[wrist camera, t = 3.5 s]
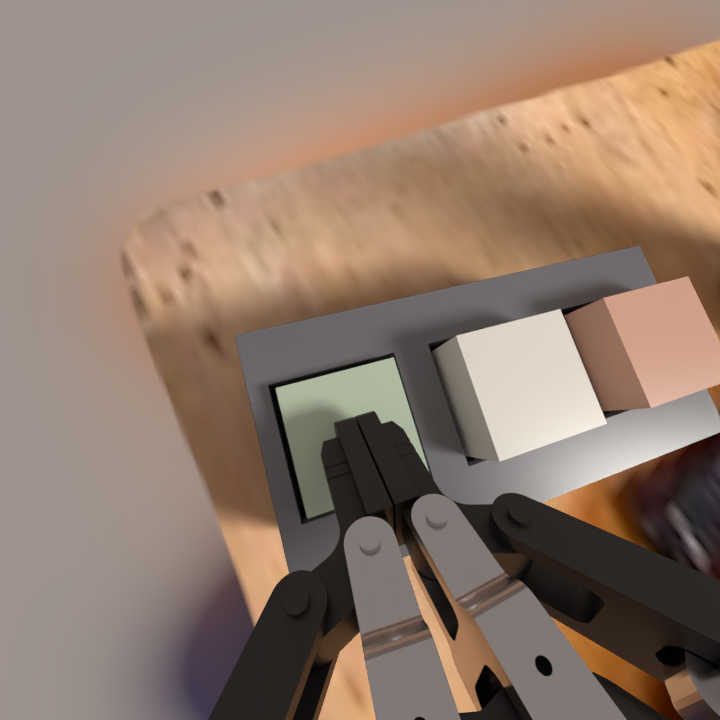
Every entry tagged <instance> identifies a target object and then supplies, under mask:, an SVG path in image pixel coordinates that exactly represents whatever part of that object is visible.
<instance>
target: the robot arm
mask: <svg viewBox="0 0 720 720" xmlns="http://www.w3.org/2000/svg"><path fill="white" fill-rule="evenodd" d="M334 429H335V434H336V438H333V439H330V440H326V441H323V446H322V450H321V459H322V463H323V467H324V471H325V475H326V480H327V484H328V487H329V491H330V495H331V498H332V502H333V506H334V509H335V513H336V517H337V520H338V524H339V528H340V537H339V540H338V543H337V545H336V547H335V549H334V551H333V552H332V553H331V555H330V556H329V557H328V558H327V559H325V560H324V561H323V562H322V563H321V564H319V565H318V566H317V567H316V568H314V569H313V570H312V571H307V570H298V571H295V572H292V573H290V574H288V575H286V576H285V577H284V578H283V579H282V580H281V581H280V582H279V583H278V584H277V585H276V587H275V588H274V590H273V592H272V594H271V596H270V598H269V600H268V602H267V604H266V606H265V608H264V610H263V612H262V614H261V616H260V618H259V620H258V622H257V624H256V626H255V628H254V630H253V632H252V634H251V636H250V638H249V640H248V642H247V644H246V646H245V648H244V650H243V652H242V654H241V656H240V658H239V660H238V662H237V664H236V666H235V668H234V670H233V672H232V674H231V676H230V678H229V679H228V682H227V683H226V685H225V687H224V690H223V691H222V694H221V695H220V698H219V699H218V702H217V703H216V706H215V707H214V709H213V712H212V713H211V715H210V718H209V720H318V717H319V714H320V711H321V708H322V705H323V702H324V699H325V696H326V692H327V689H328V686H329V683H330V680H331V677H332V674H333V670H334V667H335V664H336V661H337V658H338V655H339V652H340V651H341V650H342V649H343V648H344V647H345V646H346V645H347V644H348V643H349V642H350V641H351V640H352V639H353V638H354V637H355V636H356V635H357V634H358V633H359V632H360V634H361V640H362V646H363V652H364V658H365V663H366V669H367V674H368V679H369V685H370V690H371V695H372V700H373V706H374V711H375V716H376V720H669V719H667V718H666V717H664V716H663V715H661V714H660V713H658V712H657V711H655V710H654V709H652V708H651V707H649V706H648V705H646V704H645V703H643V702H642V701H640V700H639V699H637V698H636V697H634V696H633V695H631V694H630V693H628V692H627V691H625V690H624V689H622V688H621V687H619V686H618V685H616V684H614V683H613V682H611V681H610V680H608V679H606V678H604V677H602V676H600V675H598V674H596V673H594V672H591V671H590V669H589V668H588V667H587V665H586V664H585V663H584V661H583V660H582V659H581V657H580V656H579V655H578V653H577V652H576V651H575V649H574V648H573V647H572V645H571V644H570V643H569V641H568V640H567V639H566V637H565V636H564V634H563V633H562V632H561V630H560V629H559V628H558V626H557V625H556V624H555V622H554V621H553V620H552V618H551V617H553V618H554V619H556V620H558V621H559V622H561V623H563V624H564V625H566V626H568V627H570V628H571V629H573V630H575V631H576V632H578V633H580V634H581V635H583V636H585V637H587V638H588V639H590V640H592V641H593V642H595V643H597V644H598V645H600V646H602V647H604V648H605V649H607V650H609V651H610V652H612V653H614V654H615V655H617V656H619V657H621V658H622V659H624V660H626V661H627V662H629V663H631V664H632V665H634V666H636V667H638V668H639V669H641V670H643V671H644V672H646V673H648V674H649V675H651V676H653V677H655V678H656V679H658V680H660V681H661V682H663V683H665V684H666V687H667V690H668V692H669V695H670V697H671V700H672V703H673V706H674V708H675V709H676V711H677V712H678V713H679V714H680V715H681V717H683V718H684V719H685V720H720V581H719V580H716V579H714V578H712V577H710V576H707V575H705V574H703V573H700V572H698V571H696V570H694V569H691V568H689V567H687V566H684V565H682V564H680V563H678V562H675V561H673V560H671V559H668V558H666V557H664V556H662V555H659V554H657V553H655V552H652V551H650V550H648V549H646V548H643V547H641V546H639V545H636V544H634V543H632V542H630V541H627V540H625V539H623V538H620V537H618V536H616V535H614V534H611V533H609V532H607V531H604V530H602V529H600V528H597V527H595V526H593V525H591V524H588V523H586V522H584V521H581V520H579V519H577V518H575V517H572V516H570V515H568V514H565V513H563V512H561V511H559V510H556V509H554V508H552V507H549V506H547V505H545V504H543V503H540V502H538V501H536V500H533V499H531V498H529V497H527V496H524V495H521V494H518V493H505V494H502V495H500V496H498V497H497V498H496V499H495V500H494V502H493V504H474V505H470V504H462V503H458V502H455V501H453V500H451V499H450V498H448V497H447V496H445V495H444V494H443V493H442V492H441V491H440V489H439V488H438V486H437V485H436V483H435V481H434V480H433V478H432V476H431V475H430V473H429V471H428V469H427V468H426V466H425V464H424V463H423V461H422V459H421V458H420V456H419V454H418V453H417V452H416V449H415V448H414V446H413V444H412V443H411V442H410V439H409V438H408V436H407V434H406V432H405V431H404V429H403V428H401V427H400V426H399V425H397V424H396V423H395V422H393V421H389V422H386V423H383V424H382V423H381V421H380V419H379V418H378V416H377V414H376V412H375V411H371V412H368V413H364V414H361V415H357V416H355V417H351V418H347V419H344V420H340V421H337V422H334ZM404 544H405V545H406V547H407V550H408V552H409V554H410V557H411V566H412V570H413V572H414V574H415V576H416V578H417V580H418V582H419V584H420V586H421V588H422V590H423V592H424V594H425V596H426V598H427V601H428V603H429V605H430V607H431V609H432V611H433V613H434V615H435V617H436V619H437V621H438V623H439V625H440V627H441V629H442V631H443V633H444V635H445V637H446V639H447V641H448V644H449V646H450V649H451V653H452V657H453V660H454V663H455V665H456V668H457V670H458V672H459V675H460V677H461V679H462V681H463V683H464V685H465V687H466V689H467V691H468V693H469V695H470V698H471V700H472V702H473V704H474V706H475V708H476V710H477V712H466V713H458V710H457V707H456V704H455V701H454V698H453V695H452V692H451V689H450V686H449V683H448V680H447V677H446V674H445V672H444V669H443V666H442V663H441V660H440V657H439V654H438V651H437V648H436V645H435V642H434V639H433V637H432V634H431V632H430V630H429V628H428V626H427V624H426V623H425V621H424V620H423V617H422V615H421V612H420V609H419V606H418V603H417V600H416V597H415V594H414V591H413V588H412V585H411V582H410V579H409V576H408V573H407V570H406V566H405V563H404V560H403V557H402V554H401V551H400V548H399V546H401V545H404ZM550 616H551V617H550Z"/></svg>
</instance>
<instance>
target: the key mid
mask: <svg viewBox="0 0 720 720" xmlns="http://www.w3.org/2000/svg"><path fill="white" fill-rule="evenodd" d="M431 354H432V357H433V360H434V363H435V366H436V369H437V372H438V376H439V379H440V382H441V385H442V388H443V391H444V394H445V397H446V400H447V403H448V406H449V409H450V412H451V415H452V418H453V421H454V424H455V427H456V430H457V433H458V436H459V439H460V442H461V445H462V448H463V451H464V454H465V456H468V457H474V458H481V459H487V460H493V461H499V462H500V461H503V460H506V459H509V458H512V457H514V456H517V455H520V454H523V453H526V452H529V451H531V450H534V449H537V448H540V447H543V446H546V445H548V444H551V443H554V442H557V441H560V440H562V439H565V438H568V437H571V436H574V435H577V434H579V433H582V432H585V431H588V430H591V429H594V428H596V427H599V426H602V425H605V424H607V422H606V419H605V417H604V415H603V412H602V410H601V407H600V405H599V402H598V400H597V397H596V395H595V393H594V390H593V388H592V385H591V383H590V380H589V378H588V375H587V373H586V371H585V368H584V366H583V363H582V361H581V358H580V356H579V353H578V351H577V348H576V346H575V344H574V341H573V339H572V336H571V334H570V331H569V329H568V326H567V324H566V322H565V319H564V317H563V314H562V312H561V309H558V310H554V311H551V312H547V313H543V314H539V315H535V316H531V317H527V318H523V319H519V320H516V321H512V322H508V323H504V324H500V325H496V326H492V327H488V328H484V329H480V330H477V331H473V332H469V333H465V334H461V335H457V336H455V337H453V338H452V339H450V340H449V341H447V342H446V343H444V344H443V345H441V346H439V347H438V348H436V349H435V350H433V351H432V352H431Z"/></svg>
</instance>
